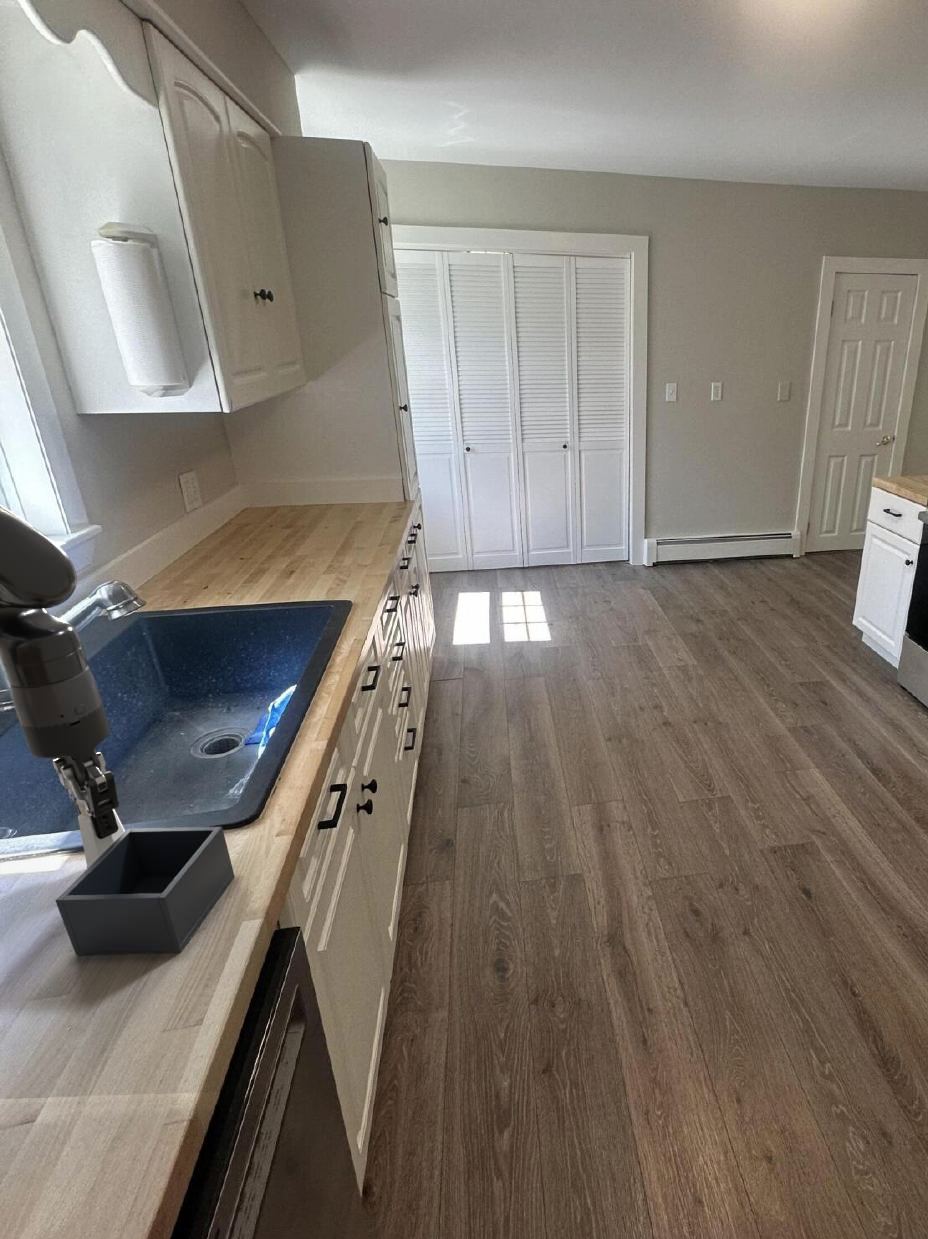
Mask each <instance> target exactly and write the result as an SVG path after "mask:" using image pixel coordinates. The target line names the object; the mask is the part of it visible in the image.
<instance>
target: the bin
mask: <svg viewBox="0 0 928 1239" xmlns="http://www.w3.org/2000/svg"><path fill="white" fill-rule="evenodd" d="M223 828H224V827H223V826H189V827H187V826H186V827H185V826H183V827H139V828H137V827H136V828H135V827H134V828H127V829H126V830H125V832H124V833H123V834H122V835H121V836H120V837H119V838H118V839H117V840H116V841H115V842H114V843H113V844H112V845H111V846H110V847H109V848H108V849H107V850H106V851H105V852H104V853H103V854H102V855H101V856H100V857H99V858H98V859H97V860H96V861H95V862H94V863H93V864H92V865H91V866H90V867H89V868H86V870H84V872H83V873H81V874H80V876H78V877H77V878H76V879H75V880H74V882H72V883H71V884H70V885H69V886H68V887H67V889H66V890H64V891H63V892H62V893H61V894H60V895H59V896H58V897H57V898H56V899H55V903H56V906H57V909H58V912H59V915H60V917H61V919H62V922H63V924H64V927H65V931H66V932H67V935H68V938H69V940H70V943H71V946H72V948H73V951H74V954H75V956H102V955H103V956H107V955H109V956H110V955H139V954H142V955H143V954H177V953H178V954H179V953H182V952H183V950H185V948H186V946H187V945H188V944H189V942H190V941H191V939H192V938H193V936H194V935H195V933H196V932H197V931H198V929H199V928H200V926H201V925H202V923H203V922H204V921H205V920H206V919H207V916H208V915H209V914H210V913H211V911H212V909H213V908H214V907H215V905H216V904H217V902H218V901H219V900H220V899H221V897H222V895H223V894H224V893H225V891H226V890H227V888H228V887H229V886H230V884H231V882H232V881H233V880H234V878H235V877H236V876H235V872H234V869H233V868H234V867H233V865H232V860H231V856H230V852H229V849H228V845H227V841H226V836H225V832H224V829H223Z"/></svg>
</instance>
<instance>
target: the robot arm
mask: <svg viewBox="0 0 928 1239" xmlns="http://www.w3.org/2000/svg"><path fill="white" fill-rule="evenodd" d="M77 581H78V576H77V570H76V568H75V565H74V563H73V561H72V560H71V558H70V557H69V556H68V554H67V553H66V552H65V550H64V549H62V548H61V546H59V545H58V544H57V543H56V542H55V541H53V540H52V539H51V538H49V537H48V536H47V535H45V534H44V533H43V532H42V531H40V530H38V529H37V528H36V527H34V526H33V525H31V524H30V523H29V522H27V521H26V520H24V519H23V518H21V517H20V516H19V515H18V514H17V515H16V514H15V513H13V512H12V511H10V510H9V509H7V508H5V507H4V506H3V505H1V504H0V661H1V664H2V667H3V669H4V672H5V675H6V678H7V680H8V683H9V687H10V691H11V699H12V703H13V707H14V709H15V712H16V715H17V718H18V721H19V723H20V724H19V725H20V727H21V729H22V732H23V735H24V737H25V741H26V743H27V746H28V748H29V751H30V754H31V755H32V756H34V757H36V758H38V759H43V760H50V761H51V763H52V765H53V768H54V770H55V772H56V774H57V777H58V778H59V781H60V784H61V788H62V789H63V790H64V791H65V792H67V791H68V797H69V799H71V800H72V801H73V802H74V805H75V808H76V811H77V813H78V816H79V815H80V814H81V812H80V810H79V806H78V805H77V803H76V800H77V799H79V800H82V801H83V803H84V806H85V808H86V813H87V814H88V815H89V818H90V821H91V824H92V827H93V830H94V833H95V836H96V837H97V838H98V839H103V838H105V837H107V836H110V835H112V834H114V833H116V832H117V831H118V825H117V822H116V818H115V815H114V812H113V809H117V808H119V800H118V799H119V798H118V793H117V787H116V782H115V774H114V773H113V772H112V771H111V770H108V771H107V769H106V764H107V762H106V759H105V758H104V756H103V753H102V752H101V751H99V752H96V748H97V747H98V746H99V745H100V744H101V743H102V742H104V741H105V740H106V739H107V738H108V736H109V735H110V733H111V726H110V723H109V720H108V716H107V712H106V710H105V706H104V704H103V703H104V702H103V700H102V697H101V694H100V690H99V688H98V687H99V686H98V684H97V681H96V678H95V676H94V675H93V673H92V671H91V669H90V667H89V665H88V664H89V663H88V660H87V657H86V653H85V651H84V648H83V644H82V641H81V638H80V635H79V633H78V631H77V629H76V628H75V626H74V625H73V624H72V623H69V622H68V621H65V620H63V619H60V618H58V617H55V616H54V615H52V614H51V613H50V612H49V611H48V610H47V609H50V608H51V609H52V608H54V607H58V606H59V605H61V604H63V603H65V602H67V601H68V600H69V599H70V598H71V597H72V595H73V594H74V592H75V590H76V587H77V584H78V582H77Z"/></svg>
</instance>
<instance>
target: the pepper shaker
mask: <svg viewBox="0 0 928 1239" xmlns="http://www.w3.org/2000/svg"><path fill="white" fill-rule="evenodd" d="M75 800H76V803H77V805H78V806H79V810H80V812H81V814H80V815H79V814H78V816H77V819H78V827H79V831H80V836H81V841H82V842H81V843H82V847H83V852H84V857H85V863H86V869H88V868H89V867H90V866H91V865H92V864H93V863H94V862H95V861H96V860H97V859H98V858H99V857H100V856H101V855H102V854H103V853H104V852H105V851H106V850H107V849H108V848H109V847H110V846H111V845H112V844H113V843H114V842H115V841H116V840H117V839H118V838H119V837H120V836H121V835H122V834H123V833H124V832H125V831H126V830H125V827H124V825H123V824H122V822H121V819H120V818H119V816H118V813H117V812H116V810H115V809H116V808H115V809H113V812H114V815H115V818H116V822H117V825H118V831H117V832H116V833H114V834H112V835H110V836H107V837H105V838H103V839H98V838H97V837H96V836H95V833H94V830H93V827H92V824H91V821H90V818H89V815H88V814H87V813H86V808H85V806H84V803H83V801H82V800H79V799H75Z"/></svg>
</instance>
